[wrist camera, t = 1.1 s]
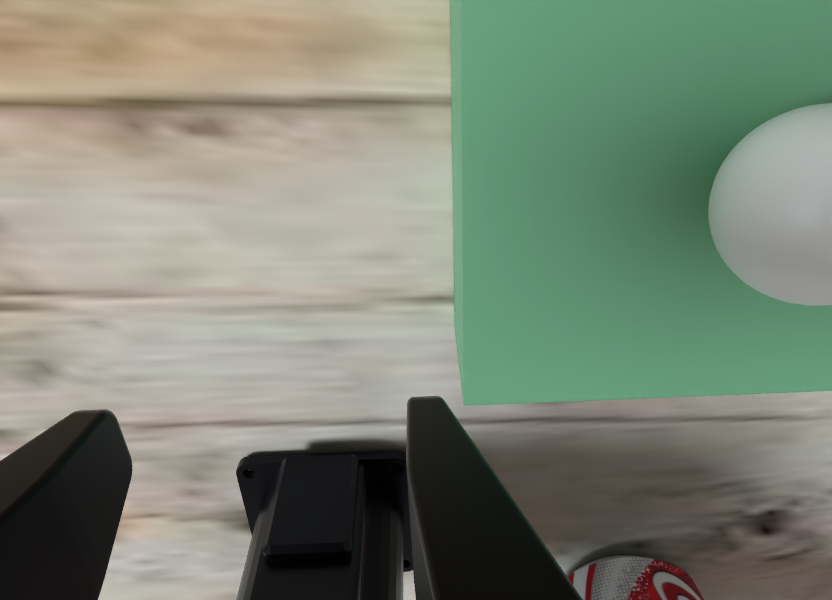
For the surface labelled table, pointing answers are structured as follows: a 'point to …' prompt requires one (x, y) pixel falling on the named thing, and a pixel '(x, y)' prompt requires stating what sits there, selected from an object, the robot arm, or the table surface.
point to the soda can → (633, 580)
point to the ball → (779, 207)
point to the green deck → (620, 196)
